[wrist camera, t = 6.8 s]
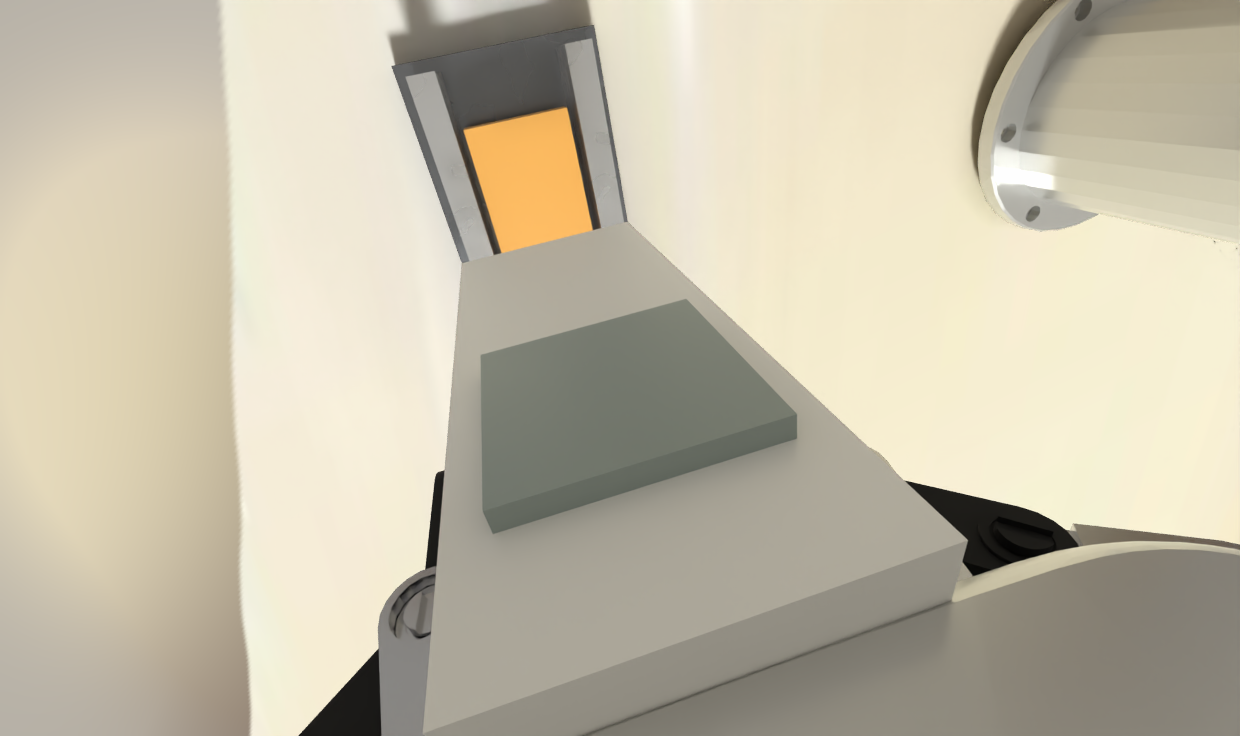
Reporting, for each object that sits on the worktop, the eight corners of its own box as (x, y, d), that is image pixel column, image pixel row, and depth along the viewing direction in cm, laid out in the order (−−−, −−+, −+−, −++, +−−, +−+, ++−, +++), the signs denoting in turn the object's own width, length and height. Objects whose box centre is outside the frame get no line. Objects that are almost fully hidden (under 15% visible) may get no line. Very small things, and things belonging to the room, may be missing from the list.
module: (625, 209, 12) (975, 512, 4) (665, 443, 16) (881, 860, 7) (457, 250, 12) (404, 711, 3) (540, 482, 15) (617, 972, 7)
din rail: (589, 27, 21) (608, 17, 18) (647, 355, 29) (666, 389, 26) (395, 66, 20) (378, 64, 17) (511, 392, 29) (514, 432, 25)
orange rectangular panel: (563, 106, 20) (566, 107, 19) (614, 343, 26) (618, 352, 25) (464, 128, 20) (463, 130, 19) (537, 364, 26) (539, 374, 25)
